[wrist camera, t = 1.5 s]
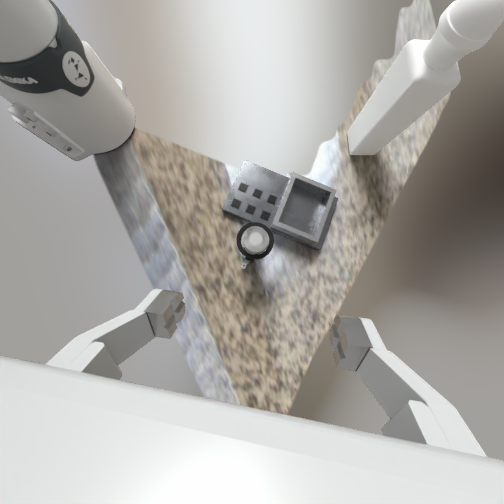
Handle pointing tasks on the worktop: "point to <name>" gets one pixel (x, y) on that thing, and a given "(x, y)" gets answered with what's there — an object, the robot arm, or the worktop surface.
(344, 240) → the worktop surface
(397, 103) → the white bottle
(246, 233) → the push button
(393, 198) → the worktop surface
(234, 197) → the organizer
